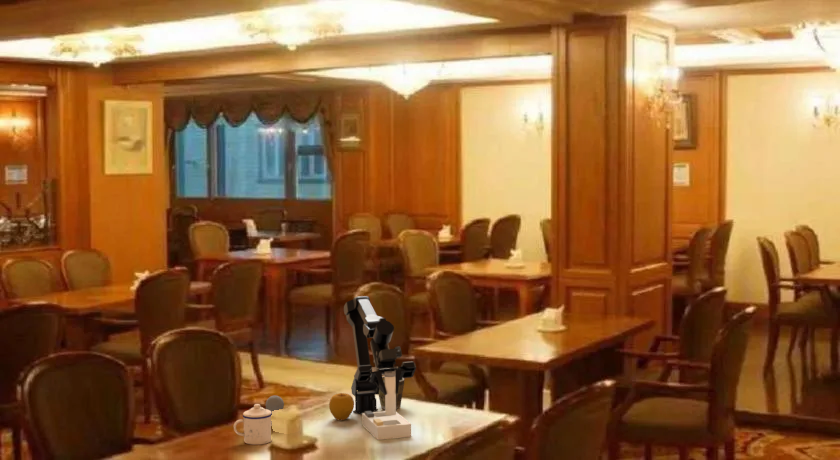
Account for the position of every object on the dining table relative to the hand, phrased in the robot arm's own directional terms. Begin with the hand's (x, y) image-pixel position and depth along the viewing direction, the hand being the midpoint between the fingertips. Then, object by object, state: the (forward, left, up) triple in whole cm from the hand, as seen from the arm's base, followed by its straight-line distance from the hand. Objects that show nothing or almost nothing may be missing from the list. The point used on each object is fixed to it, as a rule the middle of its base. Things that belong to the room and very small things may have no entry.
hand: (391, 393), depth 348 cm
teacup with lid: (-37, -23, -14) cm, 46 cm away
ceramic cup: (-18, +31, -14) cm, 39 cm away
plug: (-1, +1, -7) cm, 7 cm away
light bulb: (-42, -4, -14) cm, 44 cm away
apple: (-26, +12, -14) cm, 31 cm away
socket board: (-5, +5, -13) cm, 15 cm away
